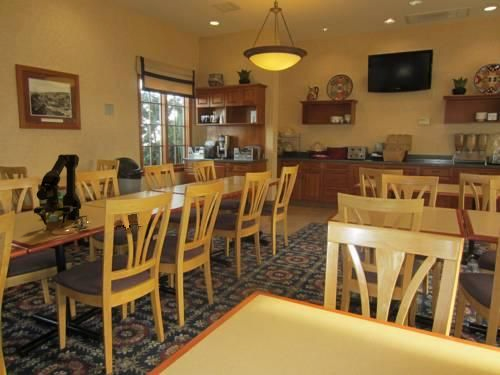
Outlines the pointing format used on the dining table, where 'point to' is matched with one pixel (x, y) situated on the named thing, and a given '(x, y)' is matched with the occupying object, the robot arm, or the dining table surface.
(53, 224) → the sleeve
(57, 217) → the block
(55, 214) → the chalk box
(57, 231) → the dish
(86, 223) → the balance
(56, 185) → the robot arm
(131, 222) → the stone cup
